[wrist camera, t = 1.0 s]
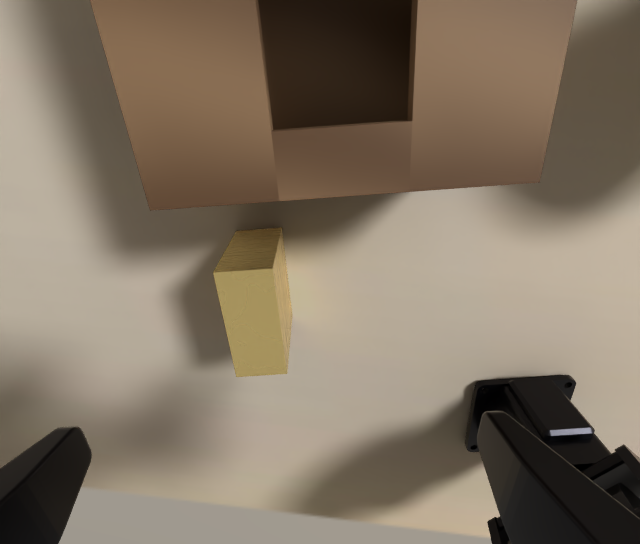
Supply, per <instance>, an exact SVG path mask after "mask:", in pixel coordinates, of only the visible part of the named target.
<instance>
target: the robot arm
mask: <svg viewBox="0 0 640 544" xmlns="http://www.w3.org/2000/svg"><path fill="white" fill-rule="evenodd" d="M575 386H576V382H575V380H574V379H573V378H572V377H571V376H569V375H560V376H545V377H531V378H516V379H502V380H487V381H480V382H478V383H477V384H476V385H475V387H474V392H473V398H472V404H471V410H470V416H469V422H468V427H467V433H466V439H465V446H466V448H467V450H468V451H470V452H480V455H481V458H482V461H483V464H484V467H485V470H486V473H487V476H488V480H489V483H490V486H491V489H492V492H493V495H494V498H495V501H496V505H497V508H498V511H499V513H500V517H498V518H497V517H494V518H492V519H491V520H489V521H488V527H489V531H490V535H491V541H492V544H640V458H639V457H638V456H636V455H635V454H634V453H633V452H632V451H631V450H630V449H629V448H628V447H626V446H625V445H622V446H620V447H618V448H617V449H615V451H616V452H614V453H612V454H611V453H610V451H609V450H608V449H607V448H606V447H605V445H604V444H603V443H602V442H601V441H600V440H599V438H598V437H597V436H596V435H595V434H594V431H595V430H594V428H593V427H592V426H591V425H590V424H589V422H588V421H587V420H586V419H585V418H584V417H583V415H582V414H581V413H580V412H579V411H578V409H577V408H576V407H575V406H574V405H573V404H572V402H571V401H570V400H571V398H572V395H573V392H574V389H575ZM483 388H484V389H483ZM91 455H92V454H91V449H90V447H89V444H88V442H87V440H86V438H85V436H84V434H83V431H82V430H81V429H80V428H79V427H60V428H57V429H56V430H54V431H52V432H51V433H50V434H48V435H47V436H45V437H44V438H43V439H41V440H40V441H38V442H37V443H36V444H34V445H33V446H31V447H30V448H29V449H27V450H26V451H24V452H23V453H21V454H20V455H19V456H17V457H16V458H14V459H13V460H12V461H10V462H9V463H7V464H6V465H5V466H3V467H2V468H0V544H58V543H59V541H60V539H61V536H62V534H63V531H64V529H65V527H66V525H67V522H68V519H69V517H70V514H71V512H72V509H73V506H74V504H75V501H76V498H77V496H78V493H79V491H80V488H81V485H82V483H83V480H84V478H85V475H86V472H87V470H88V467H89V465H90V462H91Z"/></svg>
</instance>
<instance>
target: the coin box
mask: <svg viewBox="0 0 640 544" xmlns="http://www.w3.org/2000/svg"><path fill="white" fill-rule="evenodd" d="M90 2H91V6H92V9H93V13H94V16H95V20H96V23H97V27H98V30H99V34H100V37H101V41H102V44H103V48H104V51H105V55H106V58H107V62H108V65H109V69H110V72H111V75H112V79H113V82H114V86H115V89H116V93H117V96H118V100H119V103H120V107H121V110H122V114H123V117H124V121H125V124H126V128H127V131H128V135H129V138H130V142H131V145H132V149H133V152H134V156H135V159H136V163H137V166H138V170H139V173H140V177H141V180H142V184H143V187H144V191H145V194H146V198H147V201H148V205H149V208H150V210H164V209H178V208H191V207H205V206H219V205H233V204H247V203H260V202H274V201H288V200H302V199H316V198H330V197H343V196H357V195H371V194H385V193H399V192H413V191H426V190H440V189H454V188H468V187H482V186H495V185H509V184H523V183H537V182H540V178H541V173H542V168H543V164H544V159H545V154H546V149H547V144H548V139H549V135H550V130H551V125H552V120H553V115H554V110H555V106H556V101H557V96H558V91H559V86H560V81H561V77H562V72H563V67H564V62H565V57H566V52H567V47H568V43H569V38H570V33H571V28H572V23H573V18H574V14H575V9H576V4H577V0H90Z"/></svg>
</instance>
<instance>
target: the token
mask: <svg viewBox="0 0 640 544" xmlns="http://www.w3.org/2000/svg"><path fill="white" fill-rule="evenodd" d="M213 275H214V279H215V284H216V288H217V293H218V297H219V302H220V306H221V311H222V315H223V319H224V324H225V328H226V333H227V337H228V342H229V346H230V351H231V355H232V360H233V364H234V369H235V373H236V377H244V376H259V375H274V374H287V370H288V359H289V347H290V336H291V324H292V309H291V301H290V292H289V284H288V276H287V267H286V259H285V251H284V242H283V234H282V228H269V229H255V230H241V231H236V232H235V234H234V236H233V238H232V240H231V241H230V243H229V245H228V247H227V249H226V250H225V252H224V254H223V256H222V257H221V259H220V261H219V263H218V265H217V266H216V268H215V270H214V272H213Z"/></svg>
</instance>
